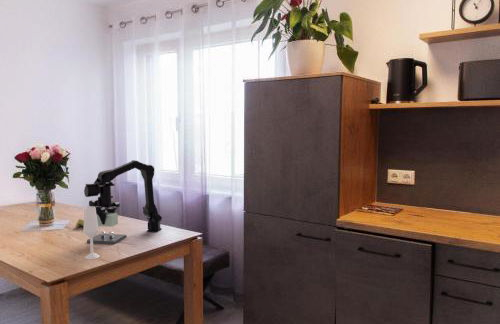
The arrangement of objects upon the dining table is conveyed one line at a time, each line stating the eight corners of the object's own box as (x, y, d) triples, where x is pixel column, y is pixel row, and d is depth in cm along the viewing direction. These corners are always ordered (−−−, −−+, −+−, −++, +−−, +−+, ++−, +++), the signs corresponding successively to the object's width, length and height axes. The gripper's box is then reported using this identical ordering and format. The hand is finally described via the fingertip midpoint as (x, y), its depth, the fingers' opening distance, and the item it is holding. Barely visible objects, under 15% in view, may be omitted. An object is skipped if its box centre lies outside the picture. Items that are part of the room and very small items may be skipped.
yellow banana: (91, 225, 235) (77, 217, 236) (87, 235, 236) (74, 227, 238) (109, 215, 254) (97, 208, 255) (106, 224, 255) (93, 217, 257)
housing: (117, 223, 213) (117, 213, 213) (112, 226, 207) (111, 215, 207) (101, 223, 215) (101, 212, 214) (95, 225, 209) (94, 215, 209)
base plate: (126, 237, 217) (126, 229, 216) (114, 244, 204) (113, 236, 204) (100, 235, 220) (100, 228, 219) (87, 242, 207) (86, 234, 207)
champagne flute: (97, 258, 182) (95, 208, 180) (82, 259, 181) (80, 209, 179) (101, 254, 189) (99, 205, 186) (87, 254, 188) (85, 206, 186)
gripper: (101, 191, 220) (103, 218, 222) (81, 197, 202) (82, 226, 204) (119, 191, 218) (120, 218, 220) (100, 198, 200) (102, 227, 201)
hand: (106, 222), depth 211 cm, fingers closed on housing, 6 cm apart
